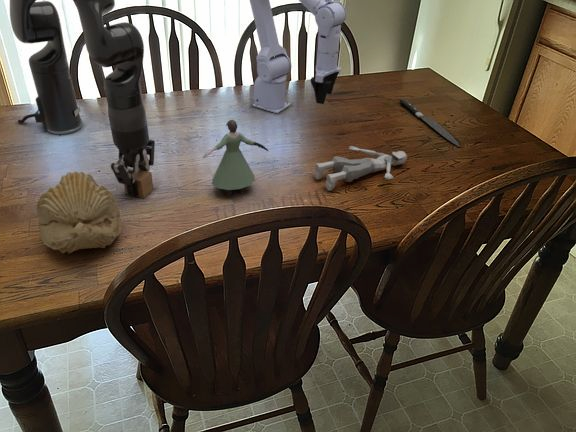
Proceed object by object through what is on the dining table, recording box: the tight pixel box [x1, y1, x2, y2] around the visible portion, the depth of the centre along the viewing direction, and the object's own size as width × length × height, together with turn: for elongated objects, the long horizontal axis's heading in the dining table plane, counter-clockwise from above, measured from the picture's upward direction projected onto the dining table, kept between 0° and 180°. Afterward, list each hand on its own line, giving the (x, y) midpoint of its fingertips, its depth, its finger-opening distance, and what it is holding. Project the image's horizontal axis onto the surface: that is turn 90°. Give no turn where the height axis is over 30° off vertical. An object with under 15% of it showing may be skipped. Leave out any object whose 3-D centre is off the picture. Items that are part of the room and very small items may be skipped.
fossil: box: [36, 170, 122, 254], centre depth 97 cm, size 15×17×15 cm
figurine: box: [313, 145, 408, 192], centre depth 125 cm, size 18×5×25 cm
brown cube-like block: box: [123, 169, 154, 199], centre depth 115 cm, size 5×4×5 cm
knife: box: [398, 98, 461, 147], centre depth 152 cm, size 32×4×1 cm, turn 20°
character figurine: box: [202, 119, 270, 196], centre depth 113 cm, size 16×8×18 cm, turn 114°
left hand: (139, 189), depth 116 cm, fingers closed on brown cube-like block, 4 cm apart
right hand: (323, 98), depth 143 cm, fingers open, 7 cm apart
